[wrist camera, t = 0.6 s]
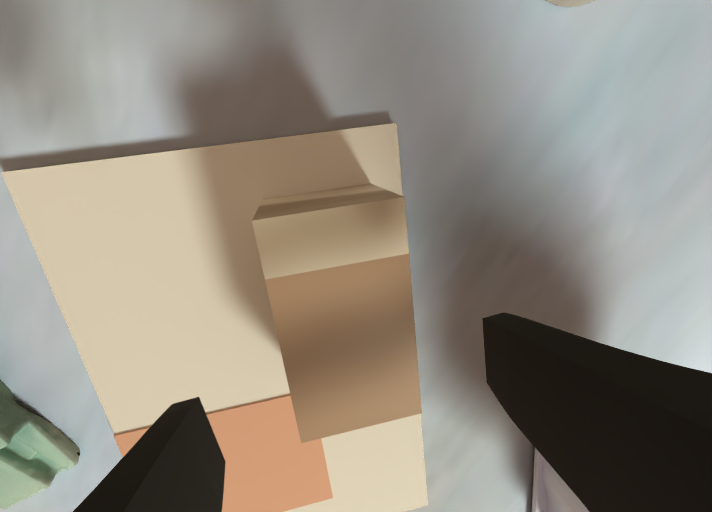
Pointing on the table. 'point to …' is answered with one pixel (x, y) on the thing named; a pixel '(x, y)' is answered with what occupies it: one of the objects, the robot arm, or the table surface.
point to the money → (29, 451)
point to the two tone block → (341, 306)
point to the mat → (211, 308)
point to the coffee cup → (569, 2)
